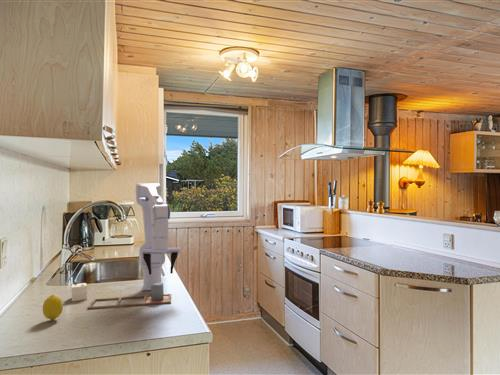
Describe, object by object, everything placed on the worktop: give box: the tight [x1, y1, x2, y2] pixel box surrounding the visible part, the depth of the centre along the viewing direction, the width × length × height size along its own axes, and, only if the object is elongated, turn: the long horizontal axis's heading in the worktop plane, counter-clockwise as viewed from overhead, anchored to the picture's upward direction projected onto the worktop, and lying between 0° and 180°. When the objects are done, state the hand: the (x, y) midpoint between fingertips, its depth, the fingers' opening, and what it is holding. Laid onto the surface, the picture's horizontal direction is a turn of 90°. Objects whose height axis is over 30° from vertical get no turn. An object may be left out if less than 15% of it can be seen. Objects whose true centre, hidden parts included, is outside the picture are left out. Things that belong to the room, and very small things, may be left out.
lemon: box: [42, 294, 64, 321], centre depth 116 cm, size 6×6×8 cm
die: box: [71, 282, 88, 302], centre depth 139 cm, size 5×5×5 cm
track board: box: [87, 293, 172, 310], centre depth 134 cm, size 10×28×1 cm, turn 101°
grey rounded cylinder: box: [150, 282, 164, 301], centre depth 135 cm, size 4×4×6 cm
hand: (160, 273), depth 137 cm, fingers open, 7 cm apart
